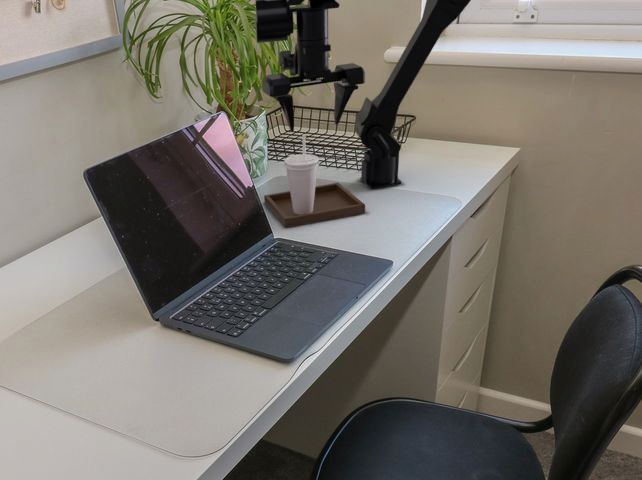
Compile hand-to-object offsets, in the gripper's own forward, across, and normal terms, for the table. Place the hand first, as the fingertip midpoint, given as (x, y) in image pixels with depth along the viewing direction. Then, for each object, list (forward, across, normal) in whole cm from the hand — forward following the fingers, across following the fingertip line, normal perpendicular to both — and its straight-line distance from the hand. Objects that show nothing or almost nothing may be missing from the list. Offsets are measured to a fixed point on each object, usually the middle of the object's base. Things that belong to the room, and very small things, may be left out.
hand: (314, 127), depth 134 cm
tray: (+12, +4, +10) cm, 16 cm away
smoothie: (+12, +7, +12) cm, 18 cm away
